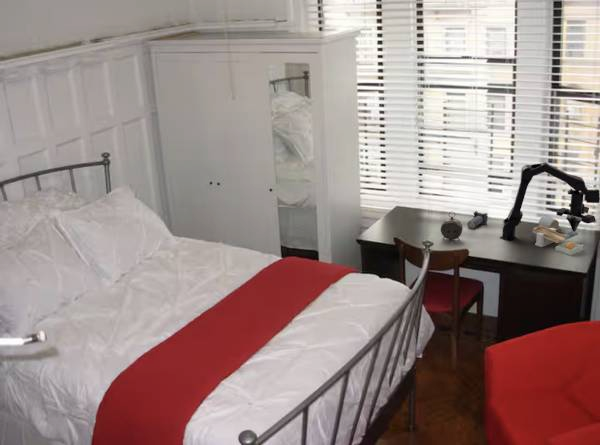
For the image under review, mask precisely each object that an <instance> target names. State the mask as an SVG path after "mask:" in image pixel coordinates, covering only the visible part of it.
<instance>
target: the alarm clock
mask: <svg viewBox="0 0 600 445" xmlns="http://www.w3.org/2000/svg"><path fill="white" fill-rule="evenodd" d="M451 213H452V214H454V216H450V214H451ZM448 216H449V218H445V219H444V220H443V221H442V224H441V225H440V232H441V236H443V238H442V240H444V239H447V240H449V242H450V241H451V242H452V241H453V240H458V241H461V239H460V236H462V233H463V230H464V229H463V224H462V222H461V221H460V220H459V219H457V218H456V217H455V216H456V213H455V211H449V213H448Z"/></svg>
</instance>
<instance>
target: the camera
mask: <svg viewBox="0 0 600 445" xmlns="http://www.w3.org/2000/svg"><path fill="white" fill-rule="evenodd" d="M472 213H473V218H472V219H470V220H469V221H468V222H467V227H468V229H470V230H471V229H475V228H476V227H478V226H479V225H481V224H483V225H487V224H488V219H489V218H488V217H489V215H488V213H487V212H485V213H482V212H478V211H476V210H475V211H474V212H472Z"/></svg>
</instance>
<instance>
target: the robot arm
mask: <svg viewBox="0 0 600 445" xmlns="http://www.w3.org/2000/svg"><path fill="white" fill-rule="evenodd" d="M543 173H546V174H548V175H551V176H553V177H555V178H556V179H558V180H560V181H563V182H564V183H565V184H567V185H568V186H569V187H570V189H569V190H567V194H568V195H570V203H569V204H568V207H569V208H566V207H561V208H559V209H557V211H556V216H560V217H562V216H564V215H566V218H565V220H567V221H568V223H569V225H570V227H571V231H574V232H577V229H578V227H579V224H580V223H581V222H582V223H585V224H591V223H594V222H596V217H595V215H594V214H593V215H592V214H588V213H589V210H590V207H589V206H585V204H584V201H585V202H586V204H599V203H600V190H599V189H588V187H587V186H586V182H585V181H584V179H583V178H582V177H580V176H578V175H575V174H569V173H567V172H565V171H563V170H561V169H559V168H557V167H555V166H553V165H552V164H550V163H548V162H541V163H534V164H525V165H523V166H522V168H521V170H520V183H519V185H518V189H517V193H516V195H515V200H514V204H513V206H512V208H511V209H510V211H509V213H508V215H507V217H506V218H505V219H504V220H503V222H502V223H503V227H502V236H500V237H499V238H500V239H502V240H505V241H508V242H511V241H513V240H516V239H518V237H517V236H516V227H517V226H518V225H519V224H521V223H522V219H523V216H524V214H523V211H522V206H523V203H524V200H525V197H526V192H527V189H528V186H529V184H530V183H531V181H532V180H533V177H535V176H538V175H540V174H543Z"/></svg>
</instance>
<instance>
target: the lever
mask: <svg viewBox="0 0 600 445" xmlns="http://www.w3.org/2000/svg"><path fill="white" fill-rule="evenodd" d="M531 231H532V232H531V238H532V239H534V240H536V238H537V233H543V234H544V239H549V240H551V241H553V243H555V244H559V243H562V242H563V241H566V240H568V239H571V238H572V237H573V238H574V237H575V236H578V235H579V232H577V231H575V232H574V231H573V230H571V231H569V232H567V233H565V234H562V233H560V232H558V231H557V230H556V231H553V230H551V229H549V228H547V227H544V226H542V225H541V226H539V225H538V226H536V227H533V228H532V230H531Z"/></svg>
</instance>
